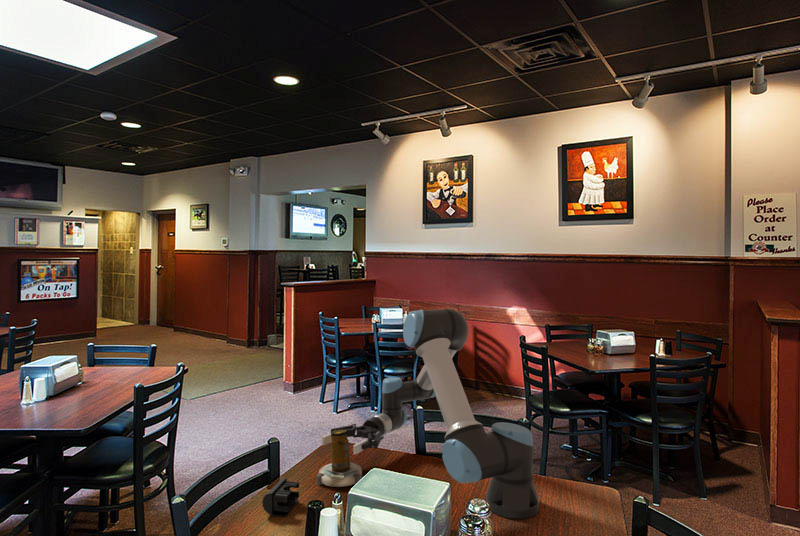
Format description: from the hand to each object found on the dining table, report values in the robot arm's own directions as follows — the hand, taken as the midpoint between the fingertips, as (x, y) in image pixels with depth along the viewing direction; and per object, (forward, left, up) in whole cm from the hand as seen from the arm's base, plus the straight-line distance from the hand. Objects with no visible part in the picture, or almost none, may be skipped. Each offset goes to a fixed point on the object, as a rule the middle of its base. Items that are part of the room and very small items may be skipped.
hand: (337, 445), depth 153 cm
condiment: (-1, 0, -8) cm, 8 cm away
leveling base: (-1, -1, -11) cm, 11 cm away
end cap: (+13, +18, -12) cm, 25 cm away
